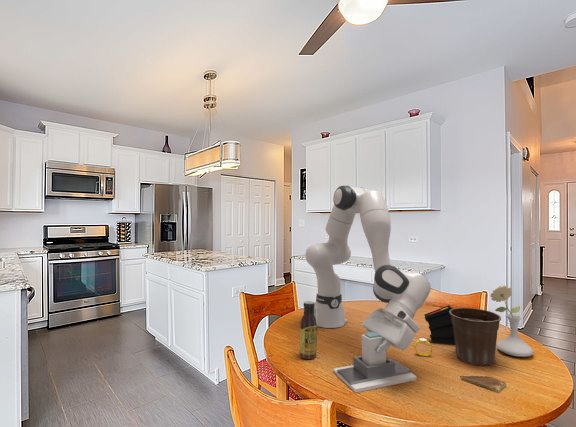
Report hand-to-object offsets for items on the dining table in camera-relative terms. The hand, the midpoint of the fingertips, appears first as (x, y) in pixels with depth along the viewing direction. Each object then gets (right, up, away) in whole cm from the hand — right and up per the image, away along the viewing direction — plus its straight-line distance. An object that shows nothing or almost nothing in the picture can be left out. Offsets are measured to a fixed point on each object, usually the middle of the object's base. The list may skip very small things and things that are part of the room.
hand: (372, 348), depth 106 cm
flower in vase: (+56, -9, +16) cm, 59 cm away
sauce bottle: (-20, -9, +15) cm, 27 cm away
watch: (+23, -9, +15) cm, 29 cm away
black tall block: (+36, -9, +27) cm, 46 cm away
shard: (+33, -9, -7) cm, 35 cm away
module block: (+1, -5, 0) cm, 5 cm away
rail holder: (+1, -9, 0) cm, 9 cm away
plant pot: (+40, -9, +12) cm, 43 cm away
